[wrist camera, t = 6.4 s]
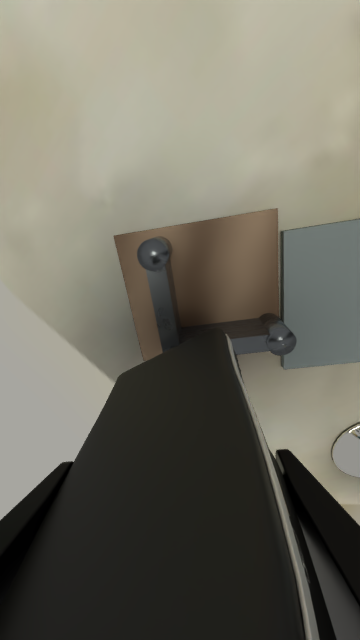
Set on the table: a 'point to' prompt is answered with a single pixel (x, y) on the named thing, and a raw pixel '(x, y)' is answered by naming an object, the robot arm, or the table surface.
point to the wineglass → (348, 451)
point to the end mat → (321, 293)
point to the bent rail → (242, 333)
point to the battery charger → (171, 520)
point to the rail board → (207, 272)
